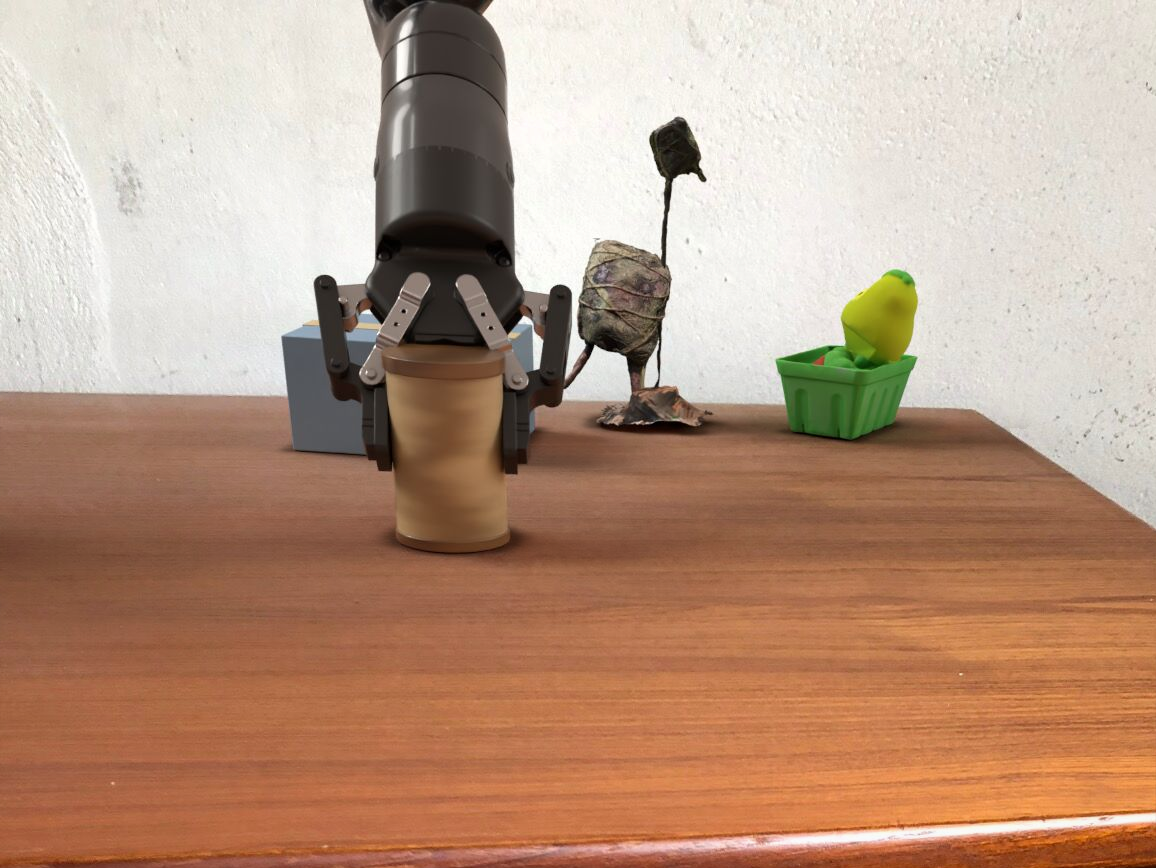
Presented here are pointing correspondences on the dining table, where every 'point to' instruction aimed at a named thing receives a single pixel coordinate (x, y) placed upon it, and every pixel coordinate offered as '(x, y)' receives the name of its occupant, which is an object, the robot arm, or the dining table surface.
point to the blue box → (340, 422)
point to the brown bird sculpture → (638, 298)
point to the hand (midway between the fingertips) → (446, 463)
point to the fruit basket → (856, 365)
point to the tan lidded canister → (447, 446)
